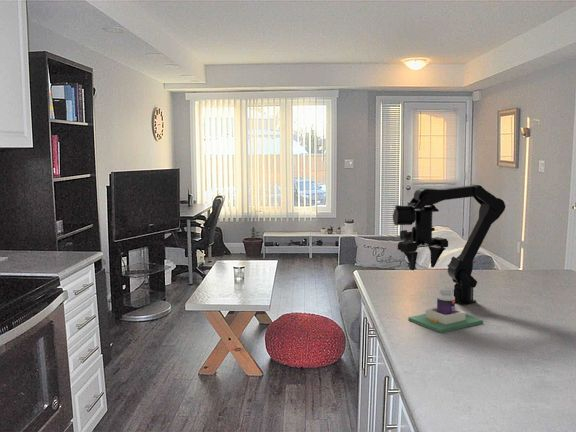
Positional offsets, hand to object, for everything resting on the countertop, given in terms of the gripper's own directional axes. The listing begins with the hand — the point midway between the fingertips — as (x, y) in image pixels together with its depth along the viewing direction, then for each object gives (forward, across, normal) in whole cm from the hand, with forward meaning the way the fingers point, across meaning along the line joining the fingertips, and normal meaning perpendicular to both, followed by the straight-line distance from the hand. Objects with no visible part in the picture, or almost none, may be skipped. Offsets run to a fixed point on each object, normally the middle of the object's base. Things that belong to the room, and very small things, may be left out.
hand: (422, 268), depth 190 cm
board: (+12, +8, +19) cm, 24 cm away
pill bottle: (+12, +8, +19) cm, 24 cm away
